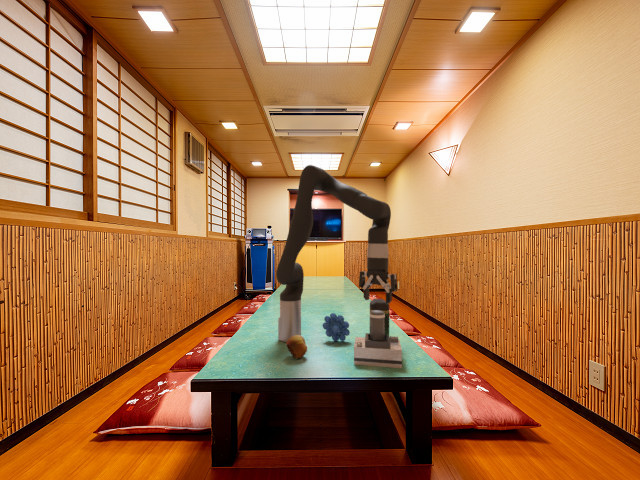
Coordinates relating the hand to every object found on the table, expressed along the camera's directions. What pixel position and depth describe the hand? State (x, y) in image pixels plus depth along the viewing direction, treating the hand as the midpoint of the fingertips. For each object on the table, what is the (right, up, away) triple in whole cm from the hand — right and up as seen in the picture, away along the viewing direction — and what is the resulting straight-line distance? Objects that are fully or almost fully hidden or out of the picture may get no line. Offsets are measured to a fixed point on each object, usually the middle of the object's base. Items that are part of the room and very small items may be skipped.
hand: (377, 301), depth 104 cm
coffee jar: (+4, -21, +15) cm, 27 cm away
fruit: (-29, -21, +2) cm, 36 cm away
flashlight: (0, -15, 0) cm, 15 cm away
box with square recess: (0, -21, 0) cm, 21 cm away
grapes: (-14, -21, +19) cm, 32 cm away
